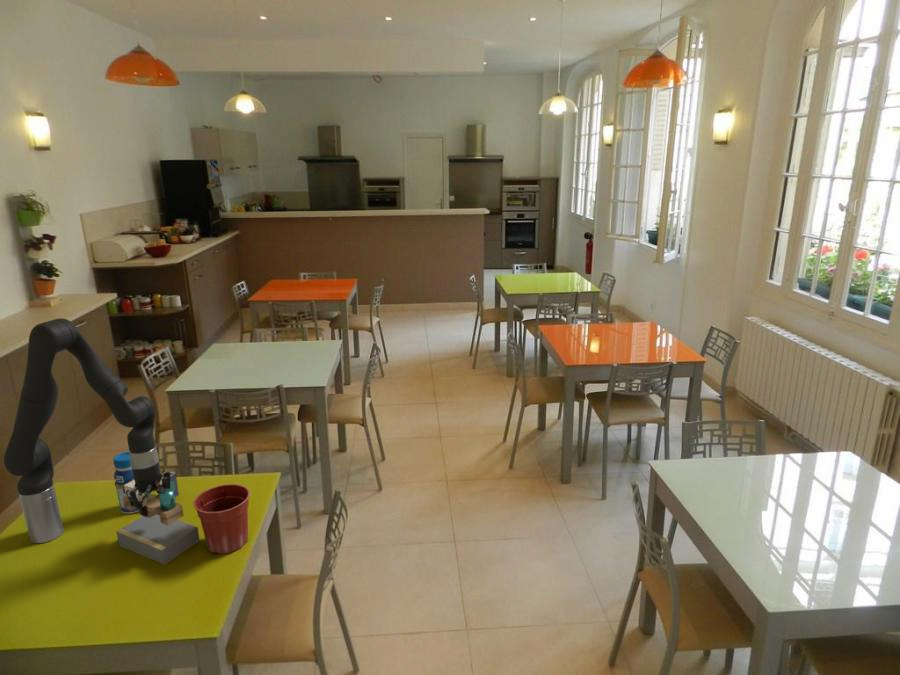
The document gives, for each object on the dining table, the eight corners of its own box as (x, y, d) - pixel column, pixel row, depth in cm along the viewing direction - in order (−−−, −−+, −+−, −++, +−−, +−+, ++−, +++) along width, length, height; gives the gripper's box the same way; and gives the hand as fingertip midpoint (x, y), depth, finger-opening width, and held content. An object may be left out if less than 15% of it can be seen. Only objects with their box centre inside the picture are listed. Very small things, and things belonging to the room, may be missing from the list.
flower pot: (219, 524, 200) (213, 481, 195) (265, 529, 196) (259, 486, 192) (189, 555, 184) (181, 509, 179) (238, 562, 181) (231, 515, 176)
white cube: (126, 496, 189) (124, 485, 187) (137, 490, 192) (135, 479, 191) (134, 499, 187) (132, 488, 186) (146, 493, 190) (144, 482, 189)
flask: (165, 507, 210) (161, 480, 206) (158, 506, 210) (153, 479, 207) (180, 493, 218) (176, 466, 215) (173, 492, 219) (168, 466, 216)
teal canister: (157, 508, 182) (155, 493, 180) (169, 501, 185) (167, 486, 184) (167, 512, 180) (164, 496, 178) (179, 505, 183) (176, 490, 182)
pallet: (124, 508, 189) (122, 497, 188) (140, 499, 194) (138, 488, 193) (168, 525, 180) (166, 513, 179) (183, 515, 185) (181, 504, 184)
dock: (119, 545, 189) (116, 531, 188) (155, 523, 200) (152, 510, 199) (164, 564, 180) (161, 550, 179) (199, 540, 191) (197, 526, 190)
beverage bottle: (139, 498, 215) (130, 447, 209) (152, 506, 210) (142, 454, 205) (115, 509, 209) (105, 457, 203) (128, 517, 204) (117, 464, 198)
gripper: (157, 449, 190) (165, 496, 195) (114, 469, 177) (124, 519, 182) (173, 454, 186) (181, 502, 191) (131, 475, 174) (140, 526, 179)
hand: (153, 510), depth 187 cm, fingers closed on pallet, 5 cm apart
